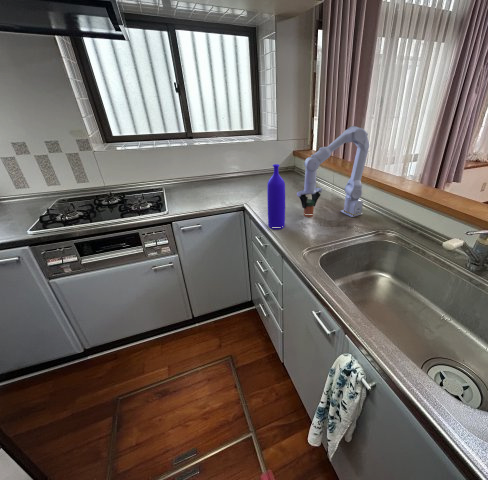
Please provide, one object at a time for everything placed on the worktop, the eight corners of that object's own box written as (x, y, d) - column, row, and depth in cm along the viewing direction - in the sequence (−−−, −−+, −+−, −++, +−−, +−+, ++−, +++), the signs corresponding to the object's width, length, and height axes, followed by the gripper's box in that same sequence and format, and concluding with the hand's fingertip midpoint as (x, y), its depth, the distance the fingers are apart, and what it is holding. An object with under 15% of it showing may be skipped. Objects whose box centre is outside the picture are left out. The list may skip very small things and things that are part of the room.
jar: (315, 215, 143) (316, 202, 140) (308, 217, 140) (308, 204, 137) (308, 212, 147) (309, 199, 143) (301, 214, 144) (302, 201, 140)
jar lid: (310, 201, 144) (310, 198, 143) (316, 205, 140) (317, 201, 139) (301, 203, 141) (301, 200, 140) (307, 207, 137) (308, 203, 136)
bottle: (275, 221, 136) (275, 161, 122) (288, 226, 132) (289, 164, 117) (264, 226, 131) (262, 165, 116) (277, 231, 126) (276, 168, 111)
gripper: (303, 186, 128) (301, 212, 135) (326, 182, 135) (324, 206, 142) (295, 182, 134) (294, 207, 140) (317, 178, 140) (316, 202, 147)
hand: (308, 207), depth 141 cm, fingers closed on jar lid, 6 cm apart
